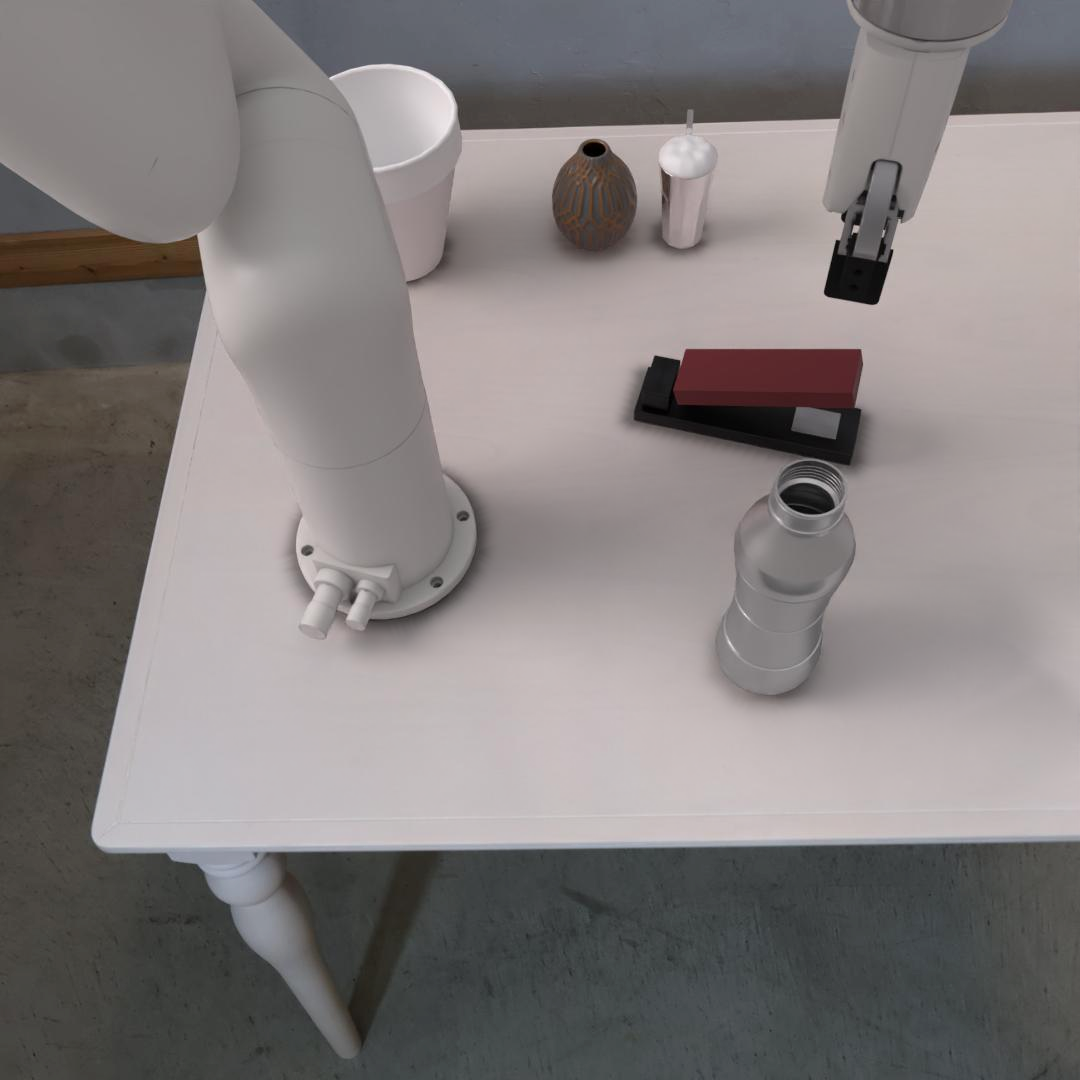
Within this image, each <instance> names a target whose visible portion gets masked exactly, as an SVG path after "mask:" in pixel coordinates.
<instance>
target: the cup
mask: <svg viewBox="0 0 1080 1080" xmlns="http://www.w3.org/2000/svg"><path fill="white" fill-rule="evenodd" d="M328 78H329V79H330V80H331V81H332V82H333V83H334V84H335V86H336V87H337V88H338V89H339V91H340V92H341V93H342V94H343V96H344V97H345V99H346V100H347V102H348V103H349V105H350V107H351V108H352V110H353V112H354V114H355V116H356V119H357V121H358V123H359V126H360V129H361V131H362V134H363V137H364V140H365V144H366V146H367V150H368V153H369V157H370V160H371V163H372V167H373V170H374V174H375V177H376V181H377V184H378V185H379V188H380V191H381V194H382V197H383V201H384V204H385V208H386V211H387V214H388V218H389V221H390V224H391V227H392V231H393V234H394V238H395V241H396V244H397V248H398V251H399V255H400V258H401V262H402V266H403V270H404V274H405V278H406V282H411V281H416V280H419V279H421V278H424V276H427V275H428V274H430V273H431V272H432V271H434V270H435V269H436V267H437V266H438V265H439V264H440V262H441V260H442V258H443V255H444V250H445V242H446V234H447V228H448V227H447V226H448V221H449V215H450V214H449V213H450V206H451V201H452V199H451V198H452V192H453V185H454V179H455V171H456V165H457V163H458V161H459V159H460V157H461V154H462V152H463V135H462V130H461V125H460V121H459V116H458V113H459V112H458V110H459V109H458V108H459V106H458V103H457V101H456V98H455V95H454V93H453V92H452V90H451V89H450V88H449V87H448V86H447V85H446V83H444V82H443V80H441V79H440V78H438V77H437V76H434V74H432V73H430V72H428V71H425V70H422V69H419V68H416V67H413V66H409V65H402V64H394V63H381V64H379V63H378V64H367V65H363V66H358V67H354V68H350V69H347V70H345V71H341V72H339V73H336V74H335V75H332V76H330V77H328Z"/></svg>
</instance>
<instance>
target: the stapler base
mask: <svg viewBox="0 0 1080 1080" xmlns="http://www.w3.org/2000/svg"><path fill="white" fill-rule="evenodd" d="M681 363H682V360H681V359H676V358H671V357H667V356H661V355H657V354H655V355H654V356H653V359H652V361H651V364H650V366H648V367H647V368H646V369H647V370H646V373H645V375H644V378H643V381H642V385H641V388H640V391H639V394H638V396H637V400H636V404H635V405H634V410H633V421H636V422H640V423H645V424H650V425H655V426H659V427H665V428H669V429H673V430H678V431H683V432H688V433H692V434H697V435H702V436H707V437H711V438H715V439H721V440H726V441H729V442H730V441H731V442H735V443H740V444H745V445H750V446H754V447H760V448H764V449H769V450H773V451H779V452H784V453H789V454H794V455H798V456H803V457H808V458H811V459H819V460H822V461H825V462H831V463H836V464H842V465H847V466H850V465H851V463H852V459H853V456H854V452H855V447H856V442H857V436H858V431H859V430H858V429H859V426H860V422H861V421H860V420H861V416H862V410H863V409H862V408H858V407H855V408H816V407H768V406H720V405H678V404H677V401H676V397H675V394H674V391H673V389H674V386H675V382H676V379H677V376H678V373H679V369H680V366H681Z"/></svg>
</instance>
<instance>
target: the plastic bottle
mask: <svg viewBox="0 0 1080 1080" xmlns="http://www.w3.org/2000/svg"><path fill="white" fill-rule="evenodd" d="M848 492H849V486H848V482H847V479H846V477H845V476H844V473H842V472H841V470H840V469H838V468H837V467H836V466H835V465H834V464H832V463H829V461H826V460H821V459H817V458H800V459H797V460H794V461H791V462H789V463H788V464H786V465H785V466H783V468H782V469H781V470H780V471H779V472H778V473H777V475H776V477H775V478H774V481H773V486H772V488H771V489H770V491H769V493H767V494H766V495H763V496H762V497H760V498H759V499H757V500H756V501H755V502H754V503H752V505H751V506H749V508H748V509H747V510H746V512H745V513H744V514H743V515H742V517H741V518H740V520H739V522H738V523H737V526H736V529H735V532H734V540H733V557H734V567H735V584H734V593H733V596H732V600H731V602H730V605H729V606H728V608H727V609H726V610H725V612H724V614H723V615H722V618H721V620H720V621H719V625H718V627H717V630H716V634H715V649H716V654H717V658H718V661H719V664H720V667H721V669H722V671H723V673H724V674H725V675H726V677H728V679H729V680H730V682H733V683H734V684H735V685H736V686H738V687H739V688H741V689H743V690H745V691H747V692H750V693H754V694H756V695H763V696H772V695H779V694H784V693H787V692H790V691H791V690H794V689H796V688H798V686H800V685H801V684H803V682H804V681H805V680H806V679H807V678H808V677H809V676H810V675H811V673H813V671H814V670H815V669H816V667H817V665H818V663H819V662H820V660H821V659H820V658H821V655H822V651H823V649H822V648H823V636H824V634H823V622H824V615H825V612H826V609H827V607H828V606H829V604H830V601H831V599H832V597H833V596H834V594H835V593H836V592H837V590H838V589H839V587H840V586H841V584H842V583H843V582H844V580H845V578H846V577H847V576H848V574H849V571H850V569H851V567H852V566H853V564H854V561H855V557H856V553H857V552H856V551H857V542H856V536H855V531H854V527H853V523H852V521H851V519H850V517H849V516H848V514H847V513H846V512H845V510H846V502H847V499H848V495H849V493H848Z"/></svg>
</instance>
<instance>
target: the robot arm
mask: <svg viewBox="0 0 1080 1080" xmlns="http://www.w3.org/2000/svg"><path fill="white" fill-rule="evenodd" d="M1013 1H1014V0H846V7H847V9H848V12H849V15H850V16H851V18H852V19H853V21H854V22H855V23H856V24H857V25H858V26H859V27H860V29H859V32H858V36H857V40H856V44H855V47H854V52H853V55H852V60H851V64H850V69H849V73H848V78H847V83H846V88H845V91H844V97H843V101H842V106H841V111H840V115H839V121H838V126H837V130H836V133H835V140H834V144H833V150H832V153H831V159H830V163H829V168H828V173H827V177H826V182H825V188H824V190H823V191H824V192H823V196H822V204H823V207H824V208H825V210H826V211H827V212H828V213H838V214H841V216H840V221H841V222H843V223H844V224H843V228H842V232H841V237H840V239H835V242H834V246H833V250H832V253H831V254H832V255H831V259H830V262H829V268H828V272H827V276H826V281H825V283H824V284H825V285H824V289H823V294H824V296H825V297H827V298H830V299H835V300H841V301H848V302H852V303H857V304H862V305H869V306H875V305H878V304H879V302H880V300H881V296H882V293H883V290H884V285H885V282H886V279H887V277H888V273H889V270H890V266H891V263H892V259H893V256H894V250H895V249H893V248H892V245H893V241H894V239H895V235H896V230H897V227H898V225H899V224H898V223H900V225H901V224H905V223H907V222H908V221H910V220H911V219H912V218H914V216H915V214H916V212H917V209H918V206H919V204H920V202H921V198H922V196H923V193H924V190H925V188H926V185H927V182H928V180H929V177H930V174H931V171H932V168H933V165H934V162H935V161H936V160H935V159H936V157H937V155H938V151H939V149H940V145H941V142H942V139H943V137H944V133H945V130H946V127H947V125H948V121H949V119H950V115H951V112H952V109H953V106H954V102H955V100H956V97H957V94H958V91H959V87H960V84H961V81H962V77H963V75H964V71H965V68H966V65H967V62H968V58H969V55H970V52H971V48H972V47H975V46H977V45H980V44H982V43H985V42H987V41H988V40H989V39H991V38H993V37H995V36H996V35H997V34H998V33H999V31H1000V30H1001V29H1002V28H1003V26H1004V25H1005V24H1006V21H1007V18H1008V16H1009V13H1010V10H1011V8H1012V5H1013ZM329 78H330V77H329V76H328V75H327V74H326V73H325V72H324V71H323V69H321V68H320V66H319V65H317V63H315V61H314V60H313V59H312V58H311V57H310V56H309V55H308V54H307V53H306V52H305V51H303V50H302V49H301V47H299V46H298V44H297V43H295V41H294V40H293V39H291V37H290V36H288V34H287V33H286V32H285V31H284V30H283V29H282V28H281V27H279V26H278V25H277V24H276V22H275V21H274V20H273V19H271V18H270V16H269V15H267V14H266V13H265V12H264V10H263V9H261V8H260V6H258V5H257V4H256V2H254V0H0V164H2V165H3V166H4V167H6V168H7V169H9V170H11V171H12V172H13V173H14V174H16V175H18V176H20V178H22V179H24V180H25V181H26V182H28V183H30V184H31V185H33V186H34V187H35V188H37V189H39V190H40V191H42V192H43V193H44V194H45V195H48V196H49V197H50V198H51V199H53V200H55V201H56V202H58V203H59V204H61V205H62V206H63V207H65V208H66V209H68V210H70V211H71V212H73V213H74V214H76V215H77V216H79V217H81V218H82V219H84V220H86V221H87V222H89V223H91V224H93V225H95V226H97V227H99V228H101V229H103V230H105V231H107V232H109V233H111V234H114V235H116V236H119V237H122V238H124V239H129V240H131V241H135V242H141V243H145V244H170V243H174V242H180V241H184V240H187V239H190V238H193V237H194V236H197V241H198V248H199V254H200V260H201V266H202V267H201V268H202V273H203V278H204V283H205V289H206V293H207V298H208V299H207V300H208V303H209V307H210V311H211V314H212V318H213V321H214V325H215V328H216V331H217V334H218V336H219V339H220V342H221V343H222V346H223V348H224V350H225V352H226V353H227V355H228V357H229V358H230V360H231V362H232V364H233V365H234V366H235V368H236V370H237V371H238V372H239V375H240V376H241V378H242V379H243V381H244V382H245V385H246V386H247V388H248V390H249V393H250V394H251V397H252V399H253V401H254V403H255V405H256V408H257V411H258V413H259V415H260V417H261V420H262V422H263V424H264V427H265V429H266V432H267V434H268V436H269V438H270V439H271V442H272V444H273V447H274V449H275V452H276V454H277V456H278V458H279V461H280V463H281V466H282V468H283V471H284V473H285V475H286V478H287V480H288V483H289V485H290V487H291V490H292V492H293V495H294V497H295V499H296V502H297V504H298V506H299V507H298V508H299V509H300V511H301V514H302V516H301V518H300V521H299V522H298V523H299V524H298V527H297V531H296V538H295V552H296V557H297V562H298V565H299V568H300V570H301V574H302V575H303V578H304V580H305V581H306V583H307V584H308V586H309V588H310V589H311V591H312V592H313V593H314V595H313V597H312V599H311V601H309V603H308V604H307V607H306V609H305V611H304V613H303V616H302V618H301V620H300V623H299V625H298V629H299V631H301V633H302V634H304V635H305V636H307V637H310V638H312V639H315V640H325V639H327V636H328V635H329V632H330V630H331V628H332V625H333V624H334V621H335V618H336V617H337V611H339V612H341V613H344V614H345V615H347V616H346V618H345V621H344V624H346V626H347V627H348V628H350V629H352V630H354V631H359V632H362V631H365V630H366V627H367V625H368V623H369V620H390V619H397V618H404V617H407V616H409V615H412V614H416V613H419V612H421V611H423V610H425V609H427V608H429V607H431V606H433V605H435V604H437V603H438V602H439V601H441V600H442V599H443V598H444V597H446V596H447V595H449V594H450V593H451V592H452V591H453V590H454V589H455V588H456V587H457V586H458V584H459V583H460V582H461V581H462V580H463V578H464V577H465V575H466V573H467V571H468V570H469V569H470V567H471V565H472V564H471V563H472V561H473V558H474V557H475V554H476V547H477V540H478V536H477V535H478V534H477V533H478V532H477V522H476V517H475V512H474V510H473V507H472V505H471V503H470V500H469V498H468V496H467V495H466V494H465V492H464V491H463V489H462V488H461V486H460V485H459V484H457V483H456V482H455V480H452V478H451V477H449V476H448V475H447V474H445V473H444V472H443V466H442V462H441V457H440V452H439V448H438V443H437V439H436V434H435V430H434V429H435V428H434V424H433V420H432V414H431V410H430V409H431V408H430V405H429V400H428V395H427V392H426V388H425V384H424V379H423V374H422V369H421V365H420V360H419V356H418V350H417V345H416V339H415V332H414V324H413V313H412V305H411V298H410V293H409V287H408V283H407V282H408V281H407V282H406V278H405V274H404V270H403V266H402V262H401V258H400V255H399V251H398V248H397V244H396V241H395V238H394V234H393V231H392V227H391V224H390V221H389V218H388V214H387V211H386V208H385V204H384V201H383V197H382V194H381V191H380V188H379V185H378V184H377V181H376V177H375V174H374V170H373V167H372V163H371V160H370V157H369V153H368V150H367V146H366V144H365V140H364V137H363V134H362V131H361V129H360V126H359V123H358V121H357V119H356V116H355V114H354V112H353V110H352V108H351V107H350V105H349V103H348V102H347V100H346V99H345V97H344V96H343V94H342V93H341V92H340V91H339V89H338V88H337V87H336V86H335V84H334V83H333V82H332V81H331V80H330V79H329ZM899 220H900V221H899ZM854 226H857V227H858V231H857V232H856V231H855V232H854V231H853V230H854Z"/></svg>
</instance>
